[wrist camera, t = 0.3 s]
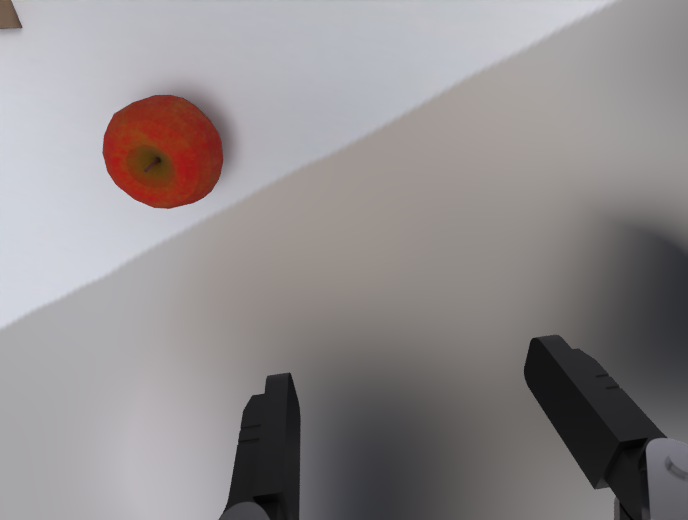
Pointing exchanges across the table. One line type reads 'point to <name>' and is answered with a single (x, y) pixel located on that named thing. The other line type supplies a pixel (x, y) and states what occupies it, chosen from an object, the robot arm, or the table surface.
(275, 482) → the robot arm
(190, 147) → the apple
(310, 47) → the table surface
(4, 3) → the plinth
